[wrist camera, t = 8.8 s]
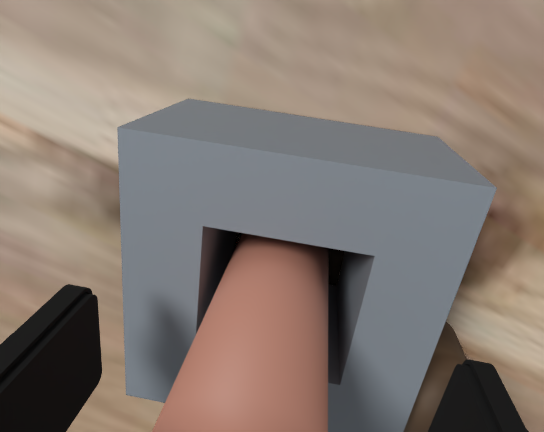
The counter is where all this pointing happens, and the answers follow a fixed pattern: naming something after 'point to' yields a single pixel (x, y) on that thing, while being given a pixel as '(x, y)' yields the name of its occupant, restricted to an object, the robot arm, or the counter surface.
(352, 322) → the hole block
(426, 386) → the short pin
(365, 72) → the counter surface
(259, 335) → the long pin
